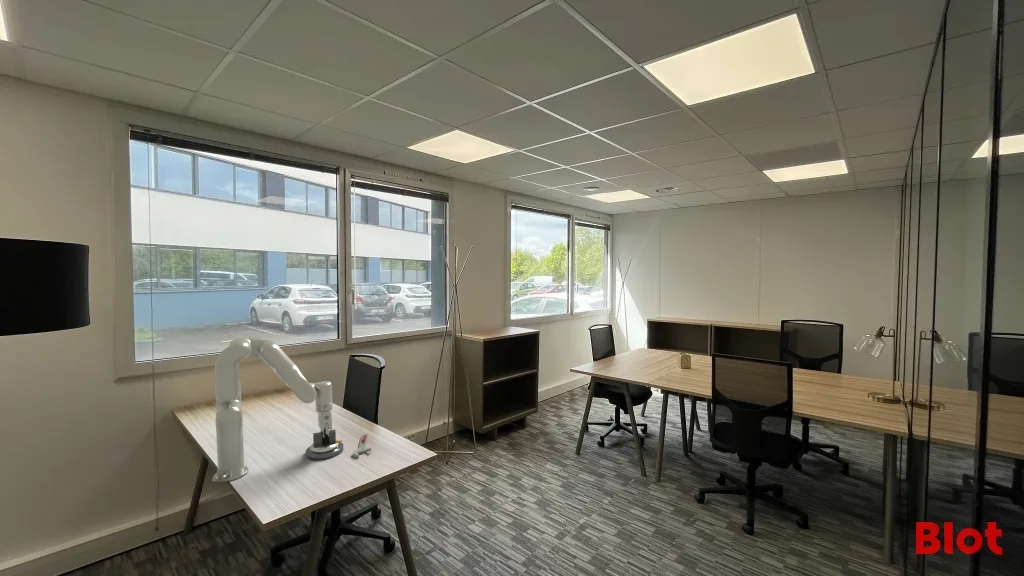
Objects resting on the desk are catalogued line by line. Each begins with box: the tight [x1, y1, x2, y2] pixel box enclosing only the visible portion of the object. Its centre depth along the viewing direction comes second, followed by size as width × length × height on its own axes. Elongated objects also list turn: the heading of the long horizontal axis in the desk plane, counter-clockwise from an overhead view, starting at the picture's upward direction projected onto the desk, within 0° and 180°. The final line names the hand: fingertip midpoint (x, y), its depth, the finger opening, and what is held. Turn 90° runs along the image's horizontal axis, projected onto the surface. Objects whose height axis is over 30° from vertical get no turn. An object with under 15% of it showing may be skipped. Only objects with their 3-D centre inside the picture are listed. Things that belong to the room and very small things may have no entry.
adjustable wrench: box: [352, 433, 372, 459], centre depth 204 cm, size 8×26×2 cm, turn 9°
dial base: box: [305, 442, 344, 461], centre depth 197 cm, size 17×17×2 cm
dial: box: [309, 429, 343, 453], centre depth 197 cm, size 14×13×8 cm
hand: (324, 442), depth 197 cm, fingers closed on dial, 3 cm apart
